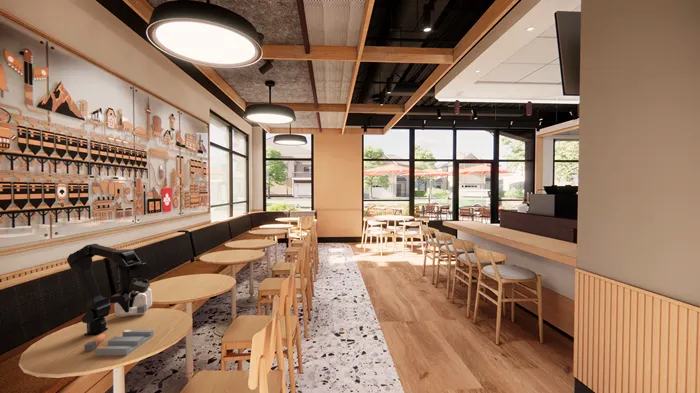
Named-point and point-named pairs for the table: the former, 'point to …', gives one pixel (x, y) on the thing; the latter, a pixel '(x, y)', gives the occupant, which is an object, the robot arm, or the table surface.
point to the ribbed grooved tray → (125, 343)
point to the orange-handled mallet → (94, 343)
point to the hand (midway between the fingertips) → (128, 311)
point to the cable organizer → (137, 303)
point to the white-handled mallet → (135, 309)
